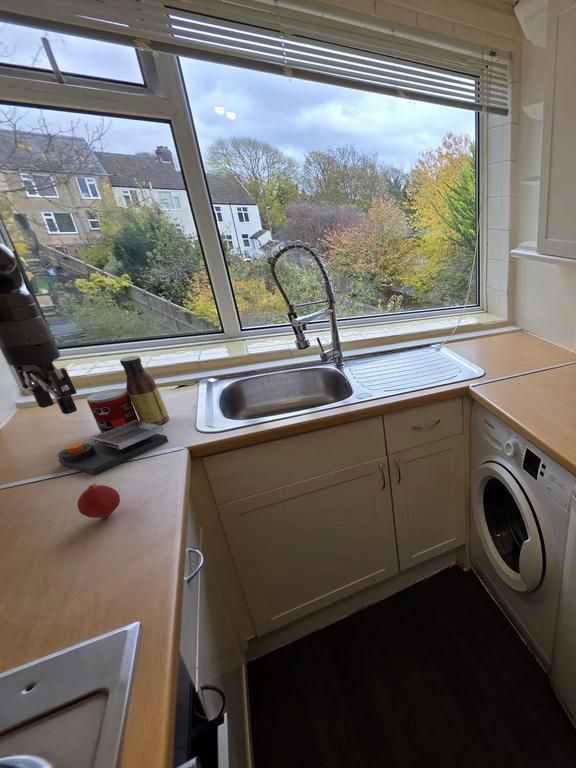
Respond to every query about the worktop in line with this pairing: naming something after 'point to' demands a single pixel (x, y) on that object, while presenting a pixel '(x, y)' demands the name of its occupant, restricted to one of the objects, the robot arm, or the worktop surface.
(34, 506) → the worktop surface
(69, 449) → the tare button
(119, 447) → the pan
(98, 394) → the canned food
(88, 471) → the scale
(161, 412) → the sauce bottle
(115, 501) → the onion
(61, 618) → the worktop surface
